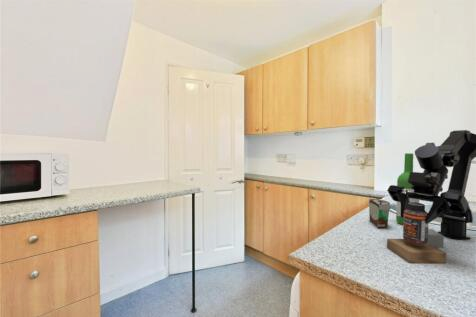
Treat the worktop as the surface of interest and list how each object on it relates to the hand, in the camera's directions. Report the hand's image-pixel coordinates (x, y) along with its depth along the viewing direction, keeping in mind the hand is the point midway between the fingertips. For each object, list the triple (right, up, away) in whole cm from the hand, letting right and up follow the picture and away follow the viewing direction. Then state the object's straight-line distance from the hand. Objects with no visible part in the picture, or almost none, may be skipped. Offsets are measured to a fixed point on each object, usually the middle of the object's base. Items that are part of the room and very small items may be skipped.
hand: (413, 219), depth 69 cm
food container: (+8, -10, +29) cm, 32 cm away
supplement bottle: (+1, -7, +1) cm, 7 cm away
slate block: (+12, -11, +11) cm, 19 cm away
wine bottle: (+20, -10, +31) cm, 38 cm away
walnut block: (+1, -11, +1) cm, 11 cm away
